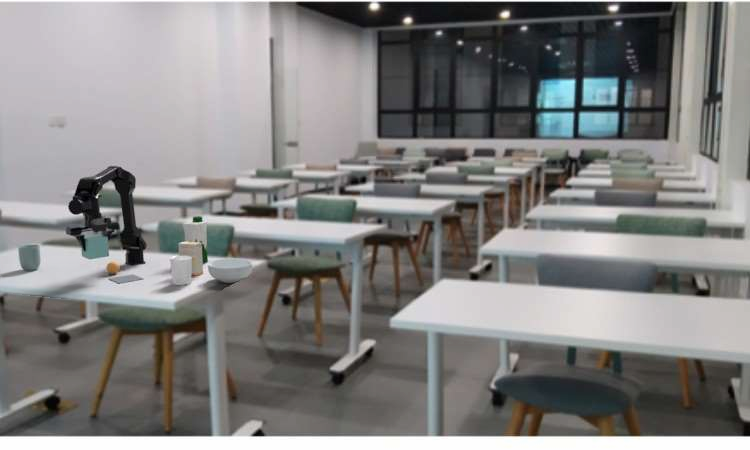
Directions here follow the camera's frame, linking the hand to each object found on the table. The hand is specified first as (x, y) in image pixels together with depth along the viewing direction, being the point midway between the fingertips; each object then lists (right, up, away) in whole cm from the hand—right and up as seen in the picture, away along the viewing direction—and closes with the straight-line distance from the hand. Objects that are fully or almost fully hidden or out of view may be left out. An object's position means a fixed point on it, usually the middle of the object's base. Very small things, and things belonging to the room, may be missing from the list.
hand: (95, 249), depth 256 cm
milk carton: (+31, -7, +32) cm, 45 cm away
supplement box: (+35, -11, +11) cm, 38 cm away
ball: (+3, -8, +11) cm, 14 cm away
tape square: (+11, -12, +3) cm, 16 cm away
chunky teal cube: (0, -3, 0) cm, 3 cm away
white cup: (+35, -13, -3) cm, 37 cm away
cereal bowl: (+53, -12, +1) cm, 54 cm away
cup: (-35, -9, +18) cm, 40 cm away
